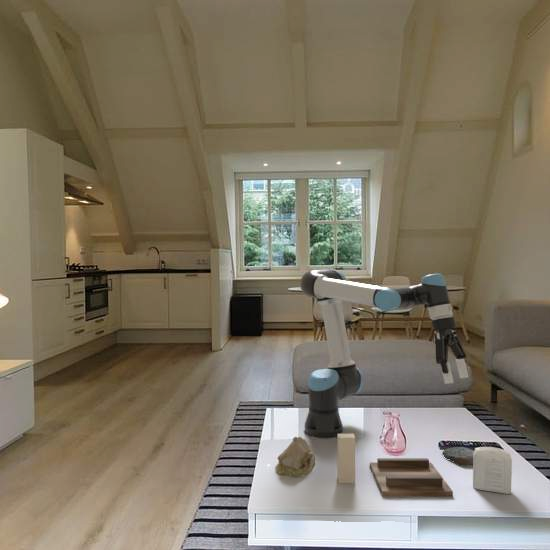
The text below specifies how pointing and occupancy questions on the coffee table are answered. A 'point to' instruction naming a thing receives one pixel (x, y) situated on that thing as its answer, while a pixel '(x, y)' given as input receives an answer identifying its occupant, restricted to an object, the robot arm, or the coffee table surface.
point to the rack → (408, 477)
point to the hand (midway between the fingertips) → (457, 380)
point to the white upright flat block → (492, 469)
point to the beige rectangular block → (346, 458)
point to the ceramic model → (296, 459)
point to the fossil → (459, 455)
